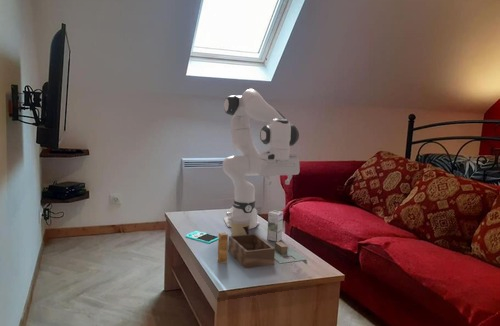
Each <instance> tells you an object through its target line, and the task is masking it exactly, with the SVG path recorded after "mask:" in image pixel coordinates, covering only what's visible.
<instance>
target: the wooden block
mask: <svg viewBox="0 0 500 326" xmlns="http://www.w3.org/2000/svg"><path fill="white" fill-rule="evenodd" d="M217 241H218V243H217V248H218V249H217V261H218V263H220V264H222V263H228V261H227V260H228V244H229V235H228V234H227V233H226V232H218V240H217Z"/></svg>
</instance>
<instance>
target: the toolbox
mask: <svg viewBox="0 0 500 326" xmlns="http://www.w3.org/2000/svg"><path fill="white" fill-rule="evenodd" d="M272 246H273V245H271V244H270V243H269V242H267V241H266V240H264V239H263V238H262V237H261V236H259V235H258V234H256V233H249V234H246V235H236V236H232V235H228V244H227V252H229V254H230V255H231V256H232V257H233V258H234V259H236V260H237V262H238V263H239V264H240V265H241V266H242V267H243V268H244V269H254V268H259V267H260V268H261V267H267V266H273V265H275V259H274V256H275V248H273V247H272Z"/></svg>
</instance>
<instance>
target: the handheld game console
mask: <svg viewBox="0 0 500 326" xmlns="http://www.w3.org/2000/svg"><path fill="white" fill-rule="evenodd" d="M218 236H219V235H218ZM218 236H217V235H215V234H210V233H206V232H203V231H198V230H194V231H192V232H189V233H187V234H186V235H185V238H186V239H191V240H193V241H197V242H201V243H204V244H209V245H210V244H211V243H214V242H215V241H218Z"/></svg>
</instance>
